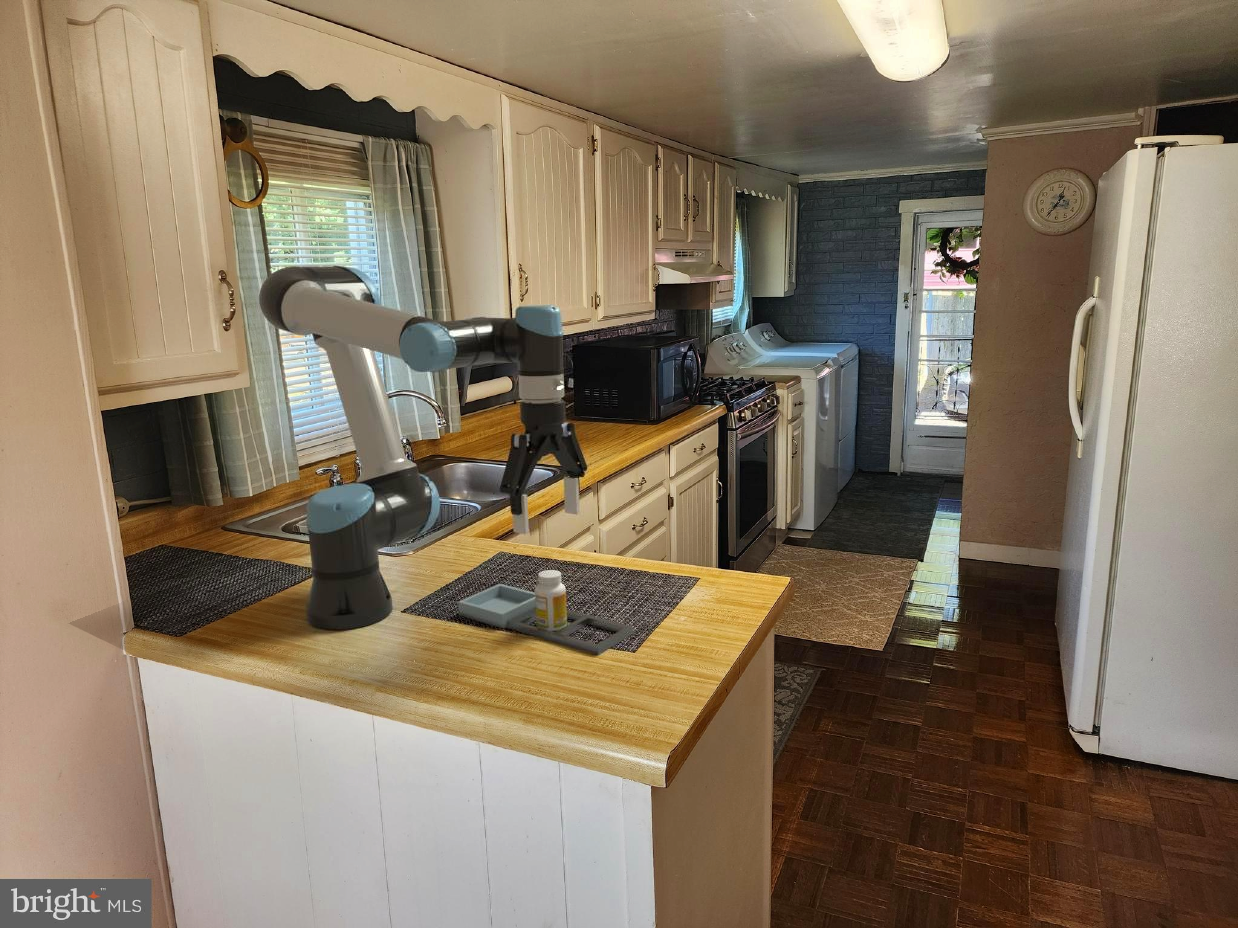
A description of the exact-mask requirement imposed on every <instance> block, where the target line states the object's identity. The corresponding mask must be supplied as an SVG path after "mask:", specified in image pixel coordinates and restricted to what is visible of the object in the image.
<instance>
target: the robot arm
mask: <svg viewBox="0 0 1238 928" xmlns="http://www.w3.org/2000/svg"><path fill="white" fill-rule="evenodd" d="M258 302H259V303H258V304H259V307H260V310H261V312H262V315H263V316H264V317H265V319H266V320H267V321H268V323H270V324H271V325H272V326H274V327H275V328H277V329H278V330H282V331H284V332H287V333H291V334H295V335H297V336H303V337H305V336H309V335H312V338H313V341H314V344H315V345H316V346H318V347H319V348H321V349H323V350H324V351H325V352H326V356H327V359H328V361H329V362H328V363H329V365H330V369H331V372H332V374H333V375H332V376H333V378H334V381H335V382H334V383H335V385H336V389H337V392H338V395H339V398H340V401H341V402H340V403H341V405H342V408H343V411H344V415H345V419H346V421H347V424H348V429H349V432H350V434H351V435H350V436H351V438H352V441H353V444H354V449H355V451H356V455H357V458H358V461H359V464H360V468H361V473H360V475H359V477H358V478H357V480H356V482H357V483H355V482H353V483H344V484H341V485H335V486H334V485H333V486H331V487H329V488H325V489H323V490H320V491H318V492H317V493H315V494H314V495H312V497H310V499H309V500H308V501H307V505H306V522H305V525H306V528H307V533H308V541H309V552H310V562H311V570H312V571H311V572H312V582H311V587H310V591H309V596H308V602H307V604H306V607H305V612H306V621H307V623H308V624H309V625H310V626H312V627H314V628H318V629H321V630H333V631H334V630H335V631H337V630H339V631H340V630H349V629H356V628H361V627H365V626H369V625H372V624H375V623H377V622H381V620H383V619H385V618H387V617H388V616H390V614H391V613H392V612H393V610H394V609H393V608H394V607H393V600H392V599H393V598H392V594H391V593H390V590H389V588H388V586H387V584H386V581H385V579H384V577H383V575H382V573H381V570H380V569H381V568H380V560H379V559H380V558H379V550H381V549H383V548H386V547H389V546H392V545H394V544H397V543H400V542H403V541H406V540H407V539H413V538H416V537H418V536H419V535H420V534H422V533H425V532H427V531H428V530H430V529H431V528H432V527H433V526H434V524H435V522H436V519H437V518H438V517H439V513H440V508H441V507H440V506H441V505H440V504H441V503H440V495H439V491H438V488H437V487H436V485H435V483H434V482H433V481H432V480H430V478H429V477H428V476H426V475H424V474H421V473H420V472H419V469H418V465H417V464H416V463H414V462H413V461H412V460H410V459H408V458H407V455H406V454H405V449H404V446H403V443H402V440H401V437H400V433H399V430H398V429H399V428H398V426H397V423H396V420H395V416H394V413H393V410H392V406H391V404H390V400H389V397H388V396H389V395H388V392H387V389H386V386H385V383H384V379H383V377H382V373H381V370H380V365H379V363H378V360H377V357H376V353H380V354H383V355H387V356H390V357H394V358H396V359H401V360H403V362H404V364H406V365H407V366H408V367H409V368H410V370H413V371H415V372H416V373H417V372H418V373H438V372H442V371H445V370H453V369H458V368H464V367H471V366H477V365H484V364H485V365H486V364H494V363H497V364H498V363H499V364H500V363H501V364H503V363H504V364H505V363H507V364H508V363H509V364H517V370H518V373H517V374H518V376H517V377H518V397H519V398H520V399H521V400H522V401H521V402H520V403H519V413H520V422H521V424H522V425H523V426H524V427H525V428H524V433H523V434H521V433H511V436H510V449H509V453H508V456H507V461H506V464H505V467H504V471H503V476H502V479H501V482H500V485H499V492H500V493H502V494H505V495H508V496H509V502H510V503H509V505H510V506H509V507H510V514H511V515H512V526H513V527H512V528H513V533H517V534H522V535H527V534H529V533H530V529H529V526H530V523H529V507H528V506H529V503H528V494H524V493H525V491H526V488H527V486H528V484H529V481H530V480H531V478H532V475H533V473H534V470H535V468H536V466H537V464H538V462H539V461H541V460H542V458H544V457H546V456H548V455H553V457H554V458H555V459H556V461H557V462H558V464H559V465H560V466H561V469H562V470H563V471H564V473H566V476H564V477H563V492H564V493H563V494H564V496H563V497H564V512H565V513H566V514H571V515H576V516H577V515H580V514H581V513H580V512H581V511H580V492H581V489H580V488H581V486H580V485H581V484H580V478H584V477H585V475H586V472H587V470H588V465H587V462H586V460H585V457H584V454H583V451H582V449H581V446H580V444H579V441H578V438H577V436H576V428H575V424H574V423H573V422H566V419H567V418H566V416H567V415H566V402H565V401H564V399H562V398H564V397H565V383H564V380H565V379H564V373H565V372H564V357H563V356H564V354H563V353H564V349H563V348H564V347H563V345H564V344H563V343H564V338H563V337H564V330H563V323H562V313H561V309H560V308H559V307H558V306H556V305H552V304H551V305H550V304H548V305H547V304H545V305H544V304H542V305H520V306H517V308H515V315H514V317H509V318H507V317H486V316H480V317H479V316H478V317H469V318H464V319H459V320H458V319H457V320H447V321H446V320H437V319H433V318H430V317H426V316H422V315H419V314H416V313H415V314H414V313H411V312H406V311H404V310H400V309H396V308H391V307H388V306H384V305H381V298H380V293H379V290H378V288H377V286H376V285H375V283H374V282H373V280H372V279H371V276H368V274H367V273H365V272H363V271H361V270H360V269H358V268H355V267H346V266H344V265H333V266H288V267H284V268H283V267H282V268H279V269H278V270H275V271H274V272H272V273H270V275H268V277H266V279H265V280H264V281H263V283H262V285H261V288H260V290H259V296H258ZM375 352H376V353H375Z"/></svg>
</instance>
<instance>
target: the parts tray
mask: <svg viewBox="0 0 1238 928" xmlns="http://www.w3.org/2000/svg"><path fill="white" fill-rule="evenodd" d="M457 603H458V605H457V606H458V608H457V609H458V616H461V617H464V618H467V619H470V620H474V621H476V622H477V621H478V622H480V623H485V624H488V625H490V626H494V627H496V628H497V627H498V628H501V629H505V628H507V621H509V620H511V619H513V618H515V617H517V616H519V615H521V614H523V613H525V612H527V611H530V610H532V609H534V608H536V603H535V591H534V592H533V591H530V590H525V589H521V588H519V587H515V586H511V585H507V584H502V583H498V584H496V585H494V586H491V587H489V588H486V589H484V590H482V591H480V592H477V593H475V594H473V595H471V596H468V597H466V598H464V599H461V600H459V601H457Z"/></svg>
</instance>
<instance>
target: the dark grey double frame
mask: <svg viewBox="0 0 1238 928" xmlns="http://www.w3.org/2000/svg"><path fill="white" fill-rule="evenodd" d="M567 620H571V621H573V622H571V623H569V624H567V625H566V626H565V627H563V628H561V629H560V630H557V631H549V630H545V629H542V628H538V627H537V626H535V625H531V624H532V623H533V622H536V608H534V609H532V610H530V611H527V612H525V613H523V614H521V615H519V616H517V617H515V618H513V619H511V620H509V621H507V627H506V628H507V629H509V630H513V631H516V632H520V633H522V634H527V635H530V636H534V637H535V638H536V637H537V638H540V639H544V640H548V641H550V642H554V643H558V644H560V645H563V646H567V647H570V648H574V649H578V650H580V651H583V652H588V653H591V654H594V655H601V654H602V653H604V652H606V651H608V650H609V649H611V648H612V647H614V646H615V645H617V644H618V643H621V642H622V641H624V640H626V639H627V638H629V637H630V636H632V635H633V634H634V626H631V625H627V624H624V623H620V622H616V621H612V620H608V619H605V618H601V617H597V616H594V615H589V614H586V613H581V612H577V611H575V610H571V609H567ZM588 625H590V626H594V627H598V628H601V629H605V630H608V631H612V632H616V633H613V634H612V635H610V636H609V637H606V638H605V639H603V640H602V641H600V642H599V643H593V642H590V641H588V640H587V641H586V640H583V639H579V638H576V637H573V636H570V635H571V634H573V633H574V632H576V631H577V632H578V631H579V630H580V629H582V628H584V627H585V626H588Z"/></svg>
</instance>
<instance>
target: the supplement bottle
mask: <svg viewBox="0 0 1238 928" xmlns="http://www.w3.org/2000/svg"><path fill="white" fill-rule="evenodd" d="M537 575H538V576H537V582H538V584H537V585H536V586H535V588H534V593H535V603H536V620H535V622H536V627H538V628H542V629H545V630H549V631H552V632H556V631H558V630H560V629H561V628H563V627H565V626H567V625H568V619H567V610H568V609H567V590H566V586H565V584H563V583H562V573H561V571H559V570H555V569H549V570H542V571H540V572H538V574H537Z"/></svg>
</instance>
